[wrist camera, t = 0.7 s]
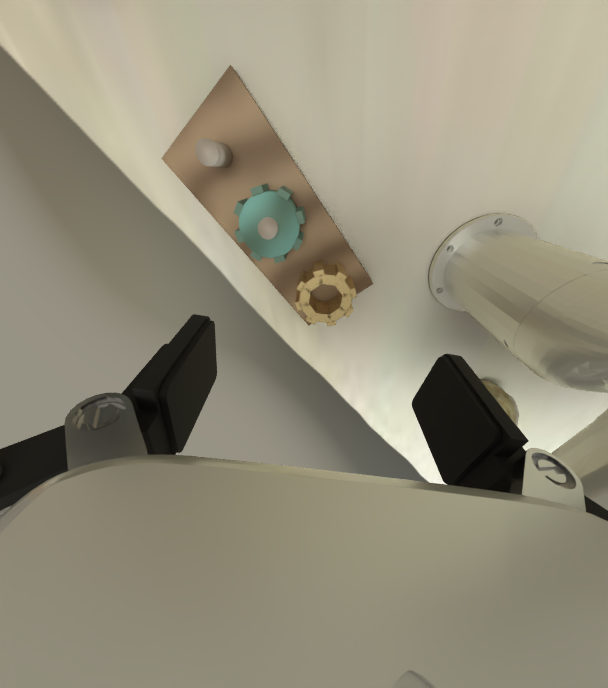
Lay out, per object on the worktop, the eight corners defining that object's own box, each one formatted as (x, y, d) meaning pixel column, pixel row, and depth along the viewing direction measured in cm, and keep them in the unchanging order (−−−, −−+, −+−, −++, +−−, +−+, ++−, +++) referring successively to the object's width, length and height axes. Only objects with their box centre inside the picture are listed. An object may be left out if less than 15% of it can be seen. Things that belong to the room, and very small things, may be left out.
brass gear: (362, 292, 35) (367, 305, 31) (318, 320, 37) (318, 335, 34) (331, 248, 31) (333, 257, 28) (286, 282, 34) (283, 294, 31)
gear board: (371, 279, 35) (380, 299, 30) (309, 320, 39) (307, 344, 34) (234, 70, 24) (211, 41, 18) (168, 158, 28) (133, 156, 23)
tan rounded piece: (485, 369, 46) (544, 400, 38) (476, 405, 50) (528, 442, 41) (441, 380, 45) (493, 416, 36) (436, 417, 48) (481, 458, 39)
